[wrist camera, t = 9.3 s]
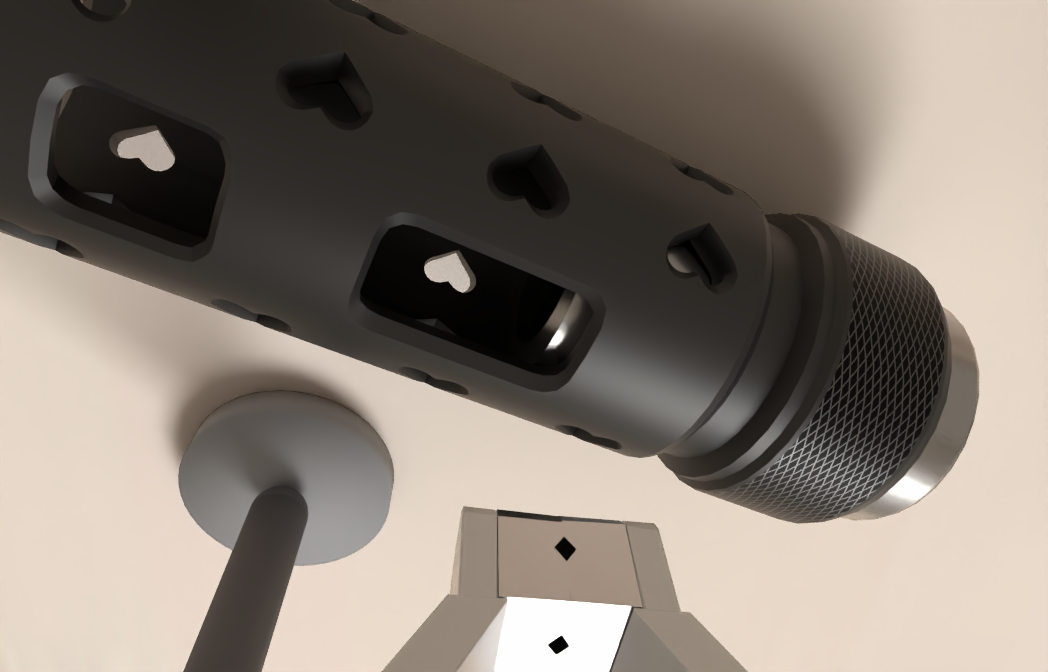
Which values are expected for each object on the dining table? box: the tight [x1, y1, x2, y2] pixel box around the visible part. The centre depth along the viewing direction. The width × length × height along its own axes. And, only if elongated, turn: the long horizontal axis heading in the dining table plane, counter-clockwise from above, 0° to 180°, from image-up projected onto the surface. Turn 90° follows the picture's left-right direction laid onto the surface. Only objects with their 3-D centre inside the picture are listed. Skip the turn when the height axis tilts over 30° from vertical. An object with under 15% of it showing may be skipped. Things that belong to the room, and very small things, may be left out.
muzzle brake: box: [0, 0, 979, 523], centre depth 22 cm, size 10×28×10 cm, turn 64°
